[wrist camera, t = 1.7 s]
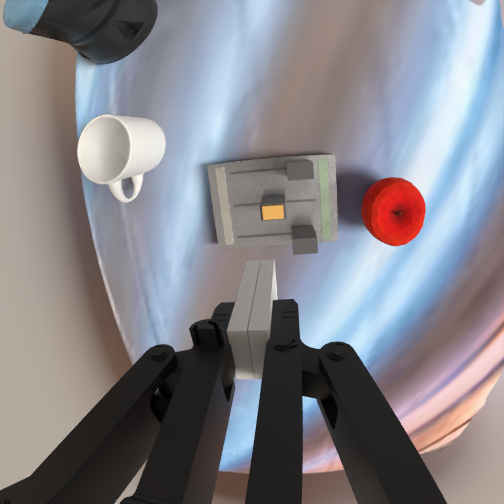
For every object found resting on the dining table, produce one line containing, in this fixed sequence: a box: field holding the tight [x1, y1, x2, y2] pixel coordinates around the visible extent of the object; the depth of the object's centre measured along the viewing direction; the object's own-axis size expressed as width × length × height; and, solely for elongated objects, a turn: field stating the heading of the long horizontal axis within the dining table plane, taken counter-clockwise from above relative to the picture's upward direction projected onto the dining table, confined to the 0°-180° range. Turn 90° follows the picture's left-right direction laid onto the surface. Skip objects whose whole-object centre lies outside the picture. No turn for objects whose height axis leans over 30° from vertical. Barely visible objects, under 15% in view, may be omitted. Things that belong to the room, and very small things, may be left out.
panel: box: [207, 154, 338, 249], centre depth 38 cm, size 12×17×2 cm
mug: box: [77, 115, 166, 203], centre depth 33 cm, size 9×12×11 cm
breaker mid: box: [259, 195, 287, 221], centre depth 34 cm, size 2×3×5 cm, turn 96°
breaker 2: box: [291, 226, 318, 255], centre depth 36 cm, size 2×3×5 cm, turn 96°
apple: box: [361, 177, 425, 246], centre depth 34 cm, size 9×9×8 cm
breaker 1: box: [286, 160, 314, 181], centre depth 33 cm, size 2×3×5 cm, turn 96°
